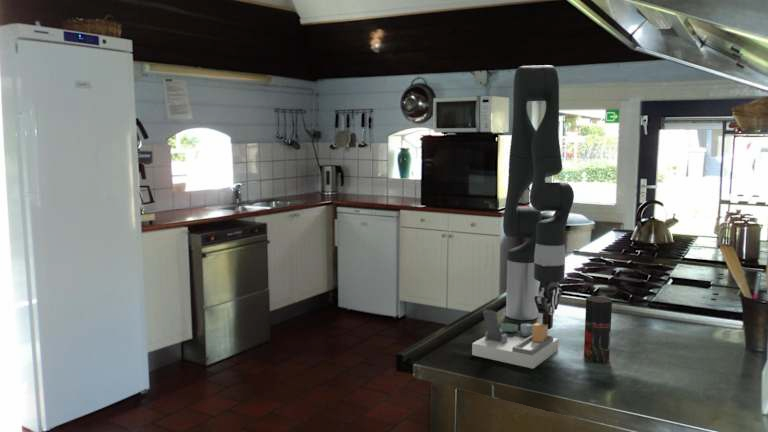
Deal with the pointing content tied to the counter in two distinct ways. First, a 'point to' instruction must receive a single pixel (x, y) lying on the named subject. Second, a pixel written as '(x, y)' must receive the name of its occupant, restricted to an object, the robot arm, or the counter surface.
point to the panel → (515, 349)
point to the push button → (526, 329)
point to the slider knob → (539, 332)
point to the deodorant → (597, 329)
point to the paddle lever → (492, 325)
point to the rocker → (509, 327)
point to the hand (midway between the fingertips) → (547, 328)
